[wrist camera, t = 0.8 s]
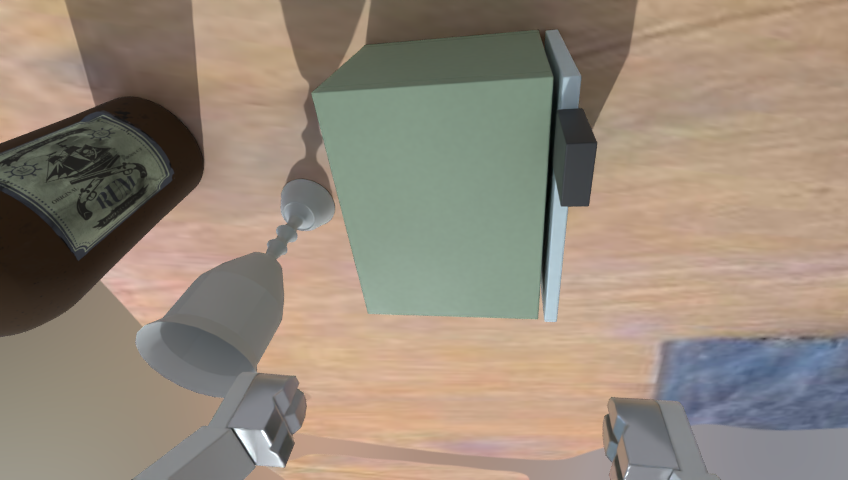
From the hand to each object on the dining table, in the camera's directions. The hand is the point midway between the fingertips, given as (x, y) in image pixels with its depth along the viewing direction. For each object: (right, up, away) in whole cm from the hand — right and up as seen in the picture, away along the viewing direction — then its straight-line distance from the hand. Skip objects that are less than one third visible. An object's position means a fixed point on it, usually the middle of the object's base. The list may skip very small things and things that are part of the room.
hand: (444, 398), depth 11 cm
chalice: (-11, +8, +28) cm, 32 cm away
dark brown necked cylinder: (-25, +12, +27) cm, 39 cm away
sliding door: (+9, +11, +21) cm, 26 cm away
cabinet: (+2, +12, +23) cm, 26 cm away
